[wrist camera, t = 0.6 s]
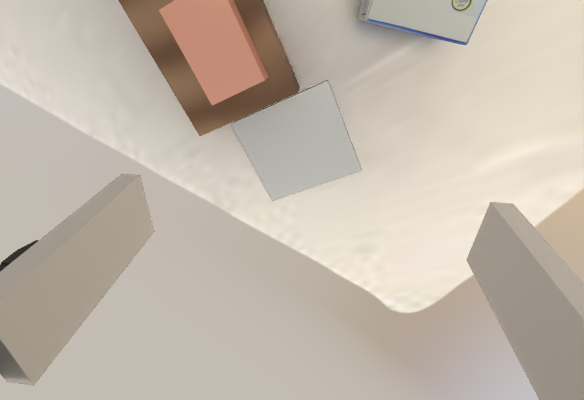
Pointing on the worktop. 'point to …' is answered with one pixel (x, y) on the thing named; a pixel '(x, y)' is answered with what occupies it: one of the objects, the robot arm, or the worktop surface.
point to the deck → (171, 61)
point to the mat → (298, 142)
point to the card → (215, 46)
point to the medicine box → (426, 17)
